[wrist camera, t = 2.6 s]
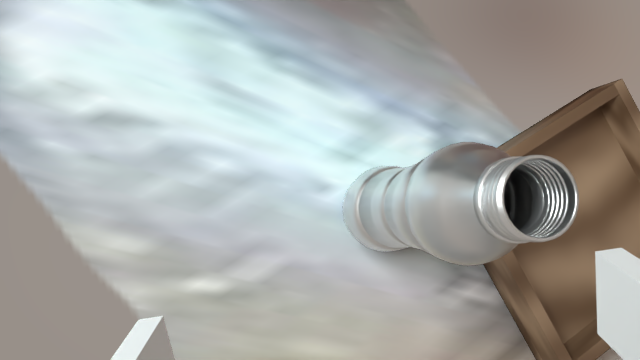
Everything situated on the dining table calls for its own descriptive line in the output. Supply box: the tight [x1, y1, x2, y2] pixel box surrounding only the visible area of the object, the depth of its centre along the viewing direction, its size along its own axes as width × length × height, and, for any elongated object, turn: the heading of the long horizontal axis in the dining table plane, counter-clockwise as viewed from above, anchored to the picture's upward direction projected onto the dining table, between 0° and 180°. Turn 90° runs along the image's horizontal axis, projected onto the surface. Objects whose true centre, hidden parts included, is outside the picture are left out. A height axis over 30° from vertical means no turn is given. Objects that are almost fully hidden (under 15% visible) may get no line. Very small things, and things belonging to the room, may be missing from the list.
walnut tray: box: [483, 79, 640, 360], centre depth 41 cm, size 18×18×4 cm
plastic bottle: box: [342, 142, 579, 266], centre depth 29 cm, size 6×7×20 cm
